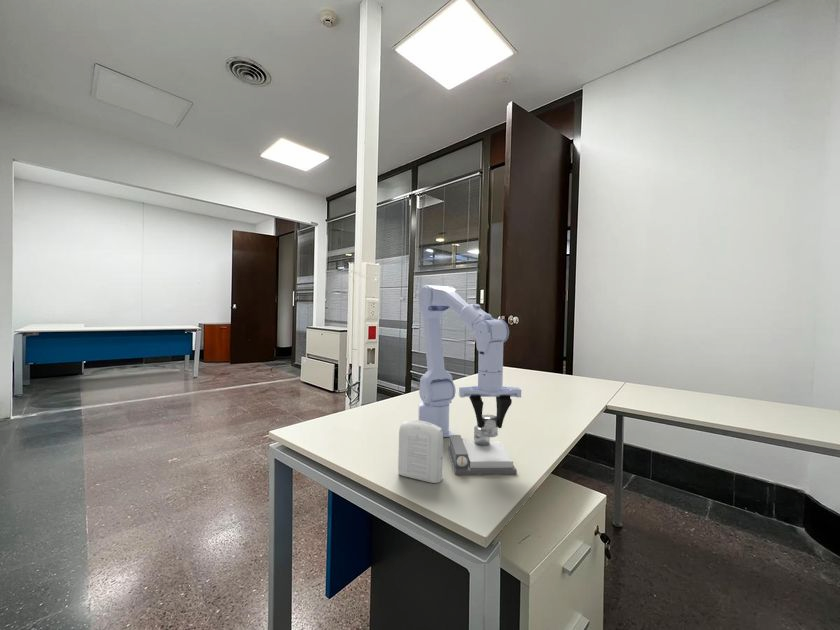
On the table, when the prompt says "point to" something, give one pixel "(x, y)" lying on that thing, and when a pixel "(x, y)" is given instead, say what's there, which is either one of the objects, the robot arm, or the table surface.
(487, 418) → the spacer
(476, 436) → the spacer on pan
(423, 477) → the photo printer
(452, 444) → the scale
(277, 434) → the table surface
